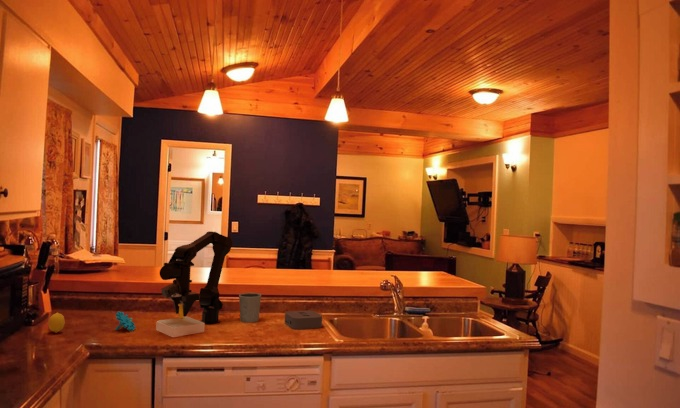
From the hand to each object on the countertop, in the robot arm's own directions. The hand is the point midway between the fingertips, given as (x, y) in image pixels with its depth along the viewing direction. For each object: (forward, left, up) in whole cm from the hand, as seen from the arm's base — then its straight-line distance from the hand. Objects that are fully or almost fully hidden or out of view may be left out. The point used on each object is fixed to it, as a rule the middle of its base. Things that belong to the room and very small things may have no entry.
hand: (181, 314), depth 199 cm
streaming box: (-49, +22, -7) cm, 54 cm away
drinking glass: (-34, +1, -7) cm, 35 cm away
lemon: (+39, -25, -7) cm, 47 cm away
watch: (0, 0, -2) cm, 2 cm away
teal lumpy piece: (+17, -14, -7) cm, 23 cm away
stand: (0, 0, -7) cm, 7 cm away
